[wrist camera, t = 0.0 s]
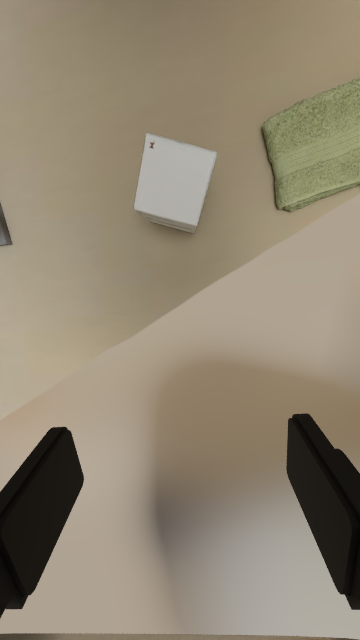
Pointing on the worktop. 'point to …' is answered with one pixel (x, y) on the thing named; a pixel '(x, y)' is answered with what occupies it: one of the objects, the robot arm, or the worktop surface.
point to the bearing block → (4, 230)
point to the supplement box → (173, 182)
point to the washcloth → (315, 146)
